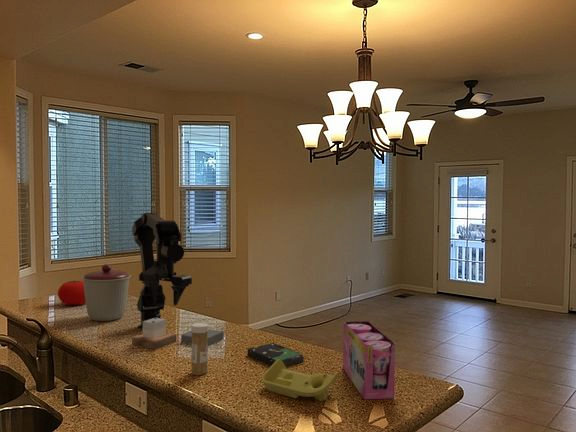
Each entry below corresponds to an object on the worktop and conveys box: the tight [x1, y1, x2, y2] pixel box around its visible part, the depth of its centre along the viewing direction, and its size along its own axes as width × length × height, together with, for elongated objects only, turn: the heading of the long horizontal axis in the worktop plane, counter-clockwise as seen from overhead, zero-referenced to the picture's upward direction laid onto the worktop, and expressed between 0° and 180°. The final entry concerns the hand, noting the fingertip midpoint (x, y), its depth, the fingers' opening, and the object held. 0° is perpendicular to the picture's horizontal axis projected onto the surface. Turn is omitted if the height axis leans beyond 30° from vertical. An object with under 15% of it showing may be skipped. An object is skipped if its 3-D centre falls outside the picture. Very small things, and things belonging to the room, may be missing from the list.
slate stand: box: [180, 328, 225, 347], centre depth 167 cm, size 10×10×2 cm
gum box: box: [342, 320, 396, 400], centre depth 132 cm, size 24×8×14 cm, turn 8°
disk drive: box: [247, 342, 304, 367], centre depth 150 cm, size 10×3×15 cm
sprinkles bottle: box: [190, 322, 209, 376], centre depth 137 cm, size 5×5×14 cm
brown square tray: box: [131, 332, 177, 350], centre depth 163 cm, size 10×10×2 cm
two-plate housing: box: [142, 317, 167, 339], centre depth 163 cm, size 6×4×5 cm
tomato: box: [57, 280, 86, 306], centre depth 217 cm, size 14×13×10 cm
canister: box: [80, 263, 132, 322], centre depth 194 cm, size 18×18×21 cm
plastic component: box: [261, 359, 340, 402], centre depth 124 cm, size 20×7×10 cm
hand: (164, 303), depth 169 cm, fingers open, 9 cm apart
